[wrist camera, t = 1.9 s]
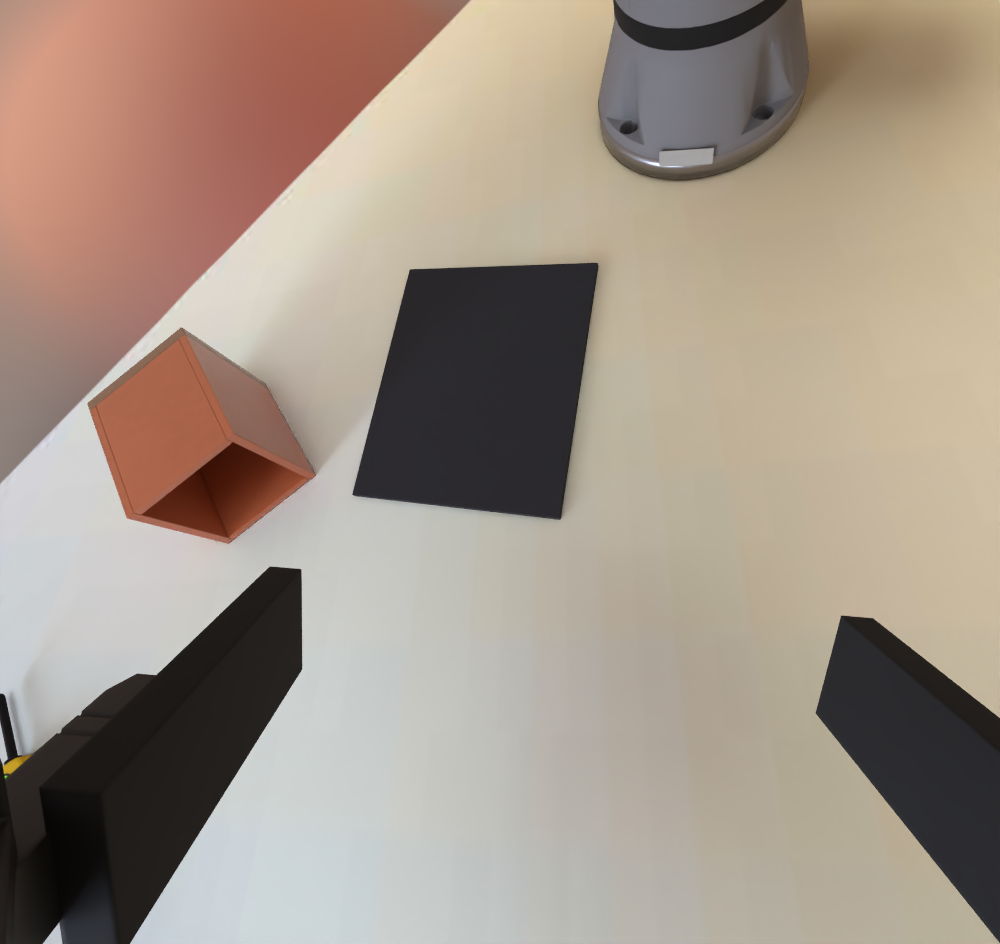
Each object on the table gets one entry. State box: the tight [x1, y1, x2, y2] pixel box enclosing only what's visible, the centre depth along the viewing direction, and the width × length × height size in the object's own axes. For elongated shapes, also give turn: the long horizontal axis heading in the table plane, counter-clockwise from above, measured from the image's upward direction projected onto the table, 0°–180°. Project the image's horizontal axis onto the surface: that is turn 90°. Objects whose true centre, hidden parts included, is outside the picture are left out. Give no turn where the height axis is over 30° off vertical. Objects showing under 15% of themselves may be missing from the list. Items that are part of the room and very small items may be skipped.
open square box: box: [88, 328, 315, 544], centre depth 41 cm, size 11×9×9 cm
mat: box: [353, 263, 598, 519], centre depth 41 cm, size 20×16×1 cm
